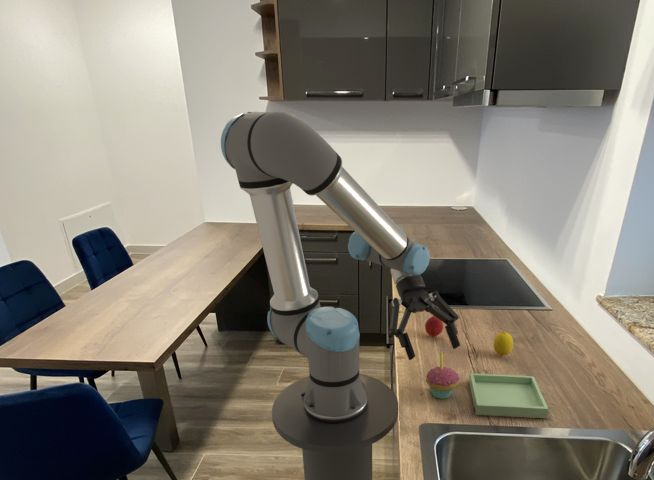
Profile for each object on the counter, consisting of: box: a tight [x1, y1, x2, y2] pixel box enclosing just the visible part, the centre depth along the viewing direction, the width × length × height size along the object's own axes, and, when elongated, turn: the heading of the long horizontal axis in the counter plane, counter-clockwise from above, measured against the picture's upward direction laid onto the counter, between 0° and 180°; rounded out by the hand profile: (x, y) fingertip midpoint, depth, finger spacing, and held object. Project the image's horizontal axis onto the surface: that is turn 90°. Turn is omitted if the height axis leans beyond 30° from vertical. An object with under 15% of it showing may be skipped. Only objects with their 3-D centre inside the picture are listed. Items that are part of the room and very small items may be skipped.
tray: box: [468, 372, 549, 419], centre depth 112 cm, size 17×15×3 cm
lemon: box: [493, 331, 514, 357], centre depth 132 cm, size 6×6×8 cm
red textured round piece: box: [424, 315, 444, 338], centre depth 143 cm, size 6×6×8 cm
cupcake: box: [425, 349, 461, 400], centre depth 112 cm, size 9×8×12 cm
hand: (435, 352), depth 115 cm, fingers open, 13 cm apart
